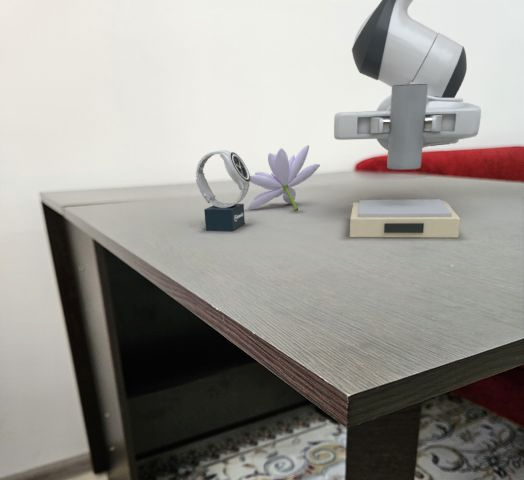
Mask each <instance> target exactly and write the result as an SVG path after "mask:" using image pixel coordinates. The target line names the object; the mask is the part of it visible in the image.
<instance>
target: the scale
mask: <svg viewBox="0 0 524 480" xmlns="http://www.w3.org/2000/svg"><path fill="white" fill-rule="evenodd" d="M460 226H461V217H460V216H459V215H458V214H457V213H456V212H455V210H454V209H453V208H452V207H451V205H450V204H449V203H448V201H443V200H442V199H441V198H424V199H423V198H422V199H421V198H417V199H415V198H414V199H413V198H411V199H407V198H406V199H359V201H354V202H353V203H352V208H351V213H350V219H349V238H411V239H412V238H416V239H417V238H420V239H421V238H422V239H424V238H425V239H427V238H428V239H429V238H430V239H431V238H432V239H433V238H434V239H435V238H436V239H438V238H441V239H443V238H444V239H445V238H447V239H448V238H449V239H454V238H455V239H456V238H457V239H458V238H459V233H460V228H461V227H460Z"/></svg>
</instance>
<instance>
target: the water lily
mask: <svg viewBox="0 0 524 480" xmlns="http://www.w3.org/2000/svg"><path fill="white" fill-rule="evenodd" d="M309 150H310V144H308V145H306V146H304V147H302V148H301V150H300V151H299V152H298V153H297V154H296V156H295V154H292V156H290V158H289V157H288V154H287V152H286V151H285V150H284V149H283V148H280V149H279V150H278V151H277V153H272V152H269V153H268V156H267V162H268V163H267V164H268V166H269V168H270V171H271V172H272V173H268V172H264V171H256V172H255V173H254V175H250V182H249V183H252V184H254V185H255V186H258V187H261V188H262V189H265V190H269V191H264V192H261V193H259V194H258V195H256V196H255V197H254V199H253V201H252V202H251V203H249V205H248V207H247V210H253V209H255V208H258V207H261V206H264V205H266V204H267V203H268V202H271V201H272V200H273V199H276V198H279V197H281V196H282V199H283V201H284V202H285V203H286V204H287V203H288V204H291V205H292V208H293V210H294V211H295V212H296V211H298V210H299V207H298V205H297V203H296V201H295V200H296V196H297V193H296V190H295V189H294V188H293V187H296V186H298V185H300V184H302V183H303V182H305V181H306V180H308V179H309V178H310V177H311V176H313V174H315V172H316V171H318V169H319V168H320V166H321V165H320V164H319V163H314V164H310V165H309V166H308V165H307V167H305V168H303V166H304V164H305V162H306V160H307V157H308V153H309ZM302 168H303V169H302Z"/></svg>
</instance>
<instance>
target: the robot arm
mask: <svg viewBox="0 0 524 480" xmlns="http://www.w3.org/2000/svg"><path fill="white" fill-rule="evenodd" d="M413 2H414V0H381V1H380V2H379V4H377V6H376V7H375V8H374V9H373V10H372V12H371V13H369V15H368V16H367V17H366V18H365V20H364V21H363V23H362V24H361V26H360V27H359V29H358V31H357V33H356V35H355V38H354V40H353V44H352V48H351V53H352V57H353V61H354V64H355V66H356V69H357V70H358V73H359V74H362V75H364V76H366V77H368V78H371V79H373V80H376V81H380V82H382V83H384V84H385V85H387V86H389V87H391V88H392V86H394V85H408V84H427V85H428V89H427V101H426V112H425V122H424V123H425V124H424V136H423V147H422V149H424V148H428V147H437V146H444V145H451V144H458V143H459V140H465V139H470V138H475V137H477V136H478V134H479V131H480V125H481V118H482V108H481V107H480V106H478V105H477V104H474V103H469V102H464V99H463V98H462V97H456V96H457V94H458V92H459V90H460V88H461V86H462V84H463V82H464V80H465V77H466V74H467V68H468V67H467V66H468V65H467V63H468V62H467V54H466V49H465V47H464V46H463V45H462V44H460V43H458V42H457V41H456V40H453V39H452V38H449V37H448V36H446V35H444V34H443V33H440V32H437V31H435V30H434V29H432V28H429V27H428V26H427V25H424V24H423V23H421V22H419V21H417V20H415V19H413V18H412V17H411V16H410V15H409V12H408V9H409V7H410V6H411V4H412V3H413ZM390 110H391V95H389V96H387V97H386V98H385V99H383V100H382V102H380V104H379V105H378V106H377V108H376V110H363V111H342V112H336V113H335V114H334V117H333V119H334V120H333V121H334V122H333V138H334V139H335V140H337V141H338V140H340V141H345V140H352V141H353V140H376V141H377V142H378V143H379V145H380V146H381V147H382V148H383V149H384V150H386V151H388V142H389V133H390V127H389V126H390Z"/></svg>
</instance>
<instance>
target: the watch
mask: <svg viewBox="0 0 524 480" xmlns="http://www.w3.org/2000/svg"><path fill="white" fill-rule="evenodd" d="M215 155H219V157H220V158H221V159H222V160H223V163H224V164H223V165H224V167H225V169H226V172H227V174H228V176H229V177H230V178H231V180H232V181H233V182H234V183H235V184H236V185H237V186H238V189H239V191H240V194H239V195H238V197H237V199H236V200H235V201H234V202H229V203H225V202H221V201H219V200H217V198H216V195H215V194H214V192H213V191H212V189H211V187H210V185H209V183H208V180H207V178H206V177H205V176H206V175H205V172H204V169H205V165H206V163H207V161H209V159H211V158H212V156H215ZM195 175H196V176H195V178H196V179H195V182H196V184H197V188H198V189H199V192H200V193H201V195H202V197H203V198H204V200H205V201H206V202H207V203H208V204H211V205H210V206H209V207H207V208H204V209H203V211H204V222H205V223H204V224H205V231H209V232H210V231H211V232H234V231H236V230H238V229H239V228H241V227H243V226H244V225H245V224H246V223H245V222H246V221H245V204H244V203H240V202H242V201H243V200H244V199H245V197H246V196H247V195H248V192H249V189H250V183H251V182H250V176H251V174H250V171H249V169H248V167H247V165H246V164H245V162H244V160H243V159H242V158H241V157H240V156H239V155H238V154H237V153H236V152H235V151H228V150H216V151H212V152H208V153H207V154H205V155H203V157H201V158H200V160H199V161H198V163H197V166H196V170H195Z"/></svg>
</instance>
